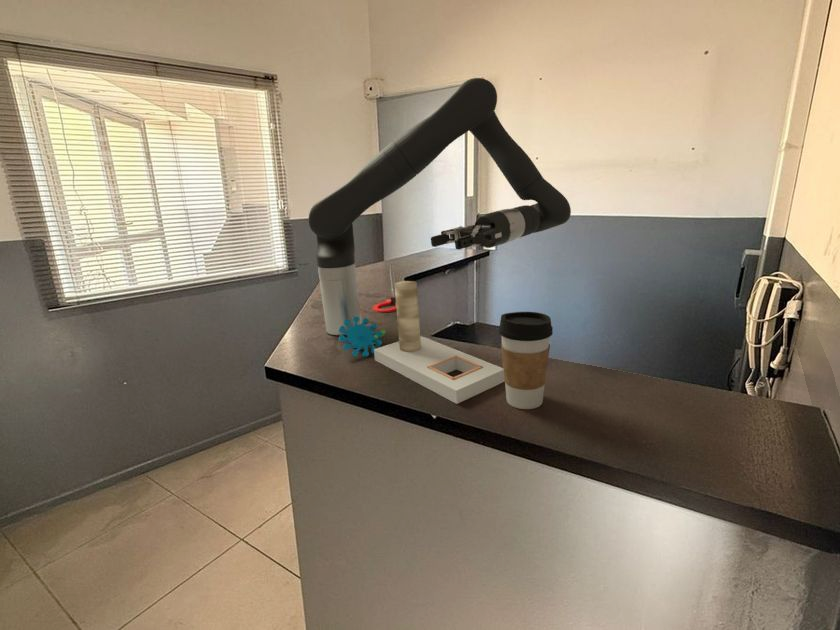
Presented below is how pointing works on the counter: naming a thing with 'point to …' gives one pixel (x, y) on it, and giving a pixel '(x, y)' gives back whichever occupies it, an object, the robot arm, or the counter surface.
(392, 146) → the robot arm
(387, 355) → the white peg hole board
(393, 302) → the tow hook
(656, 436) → the counter surface
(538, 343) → the coffee cup
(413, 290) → the peg
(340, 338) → the gear
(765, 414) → the counter surface
